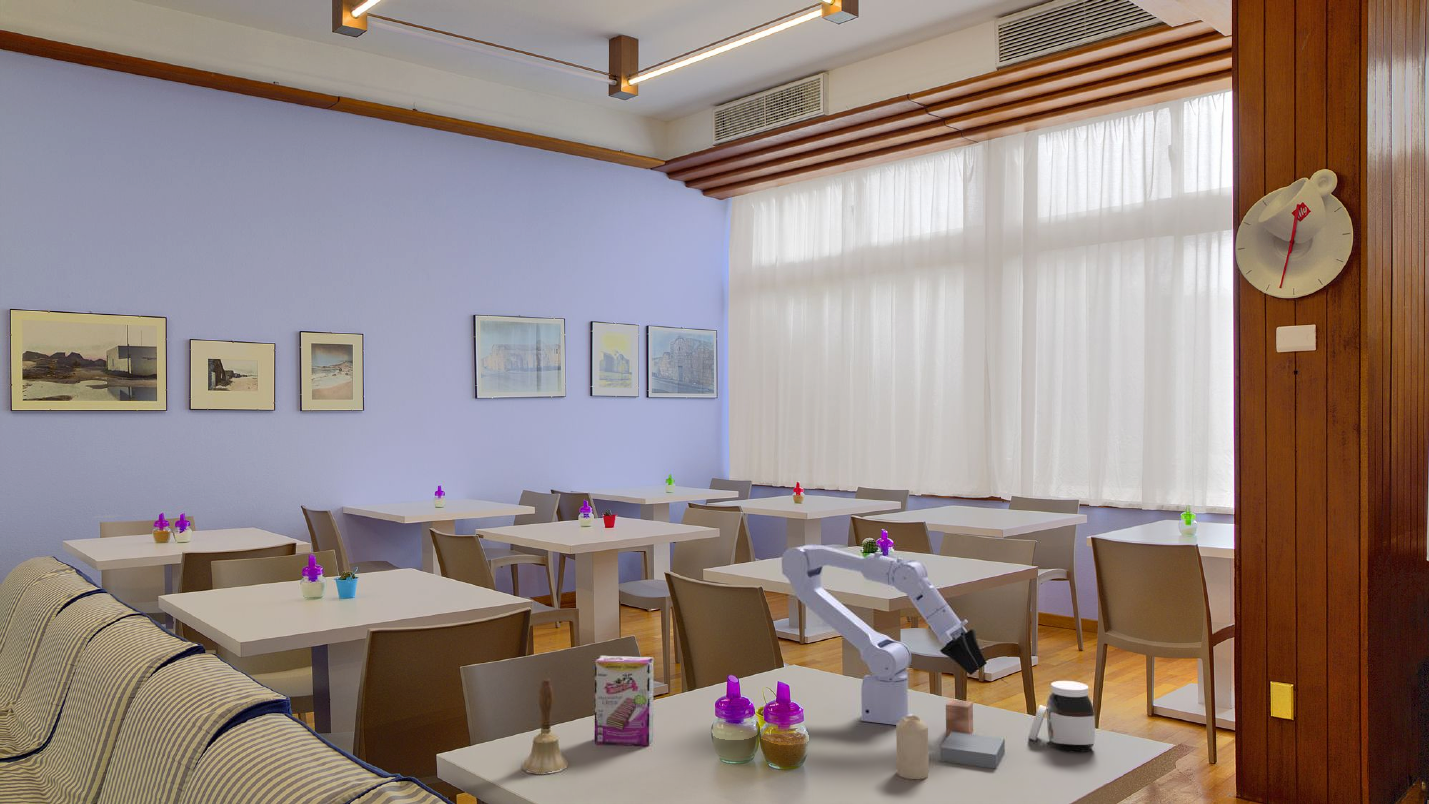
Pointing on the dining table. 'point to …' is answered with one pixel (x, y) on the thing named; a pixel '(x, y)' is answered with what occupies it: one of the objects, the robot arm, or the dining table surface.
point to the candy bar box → (624, 700)
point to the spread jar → (1067, 717)
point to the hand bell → (545, 739)
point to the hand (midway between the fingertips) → (979, 669)
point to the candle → (912, 748)
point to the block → (959, 716)
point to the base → (972, 749)
